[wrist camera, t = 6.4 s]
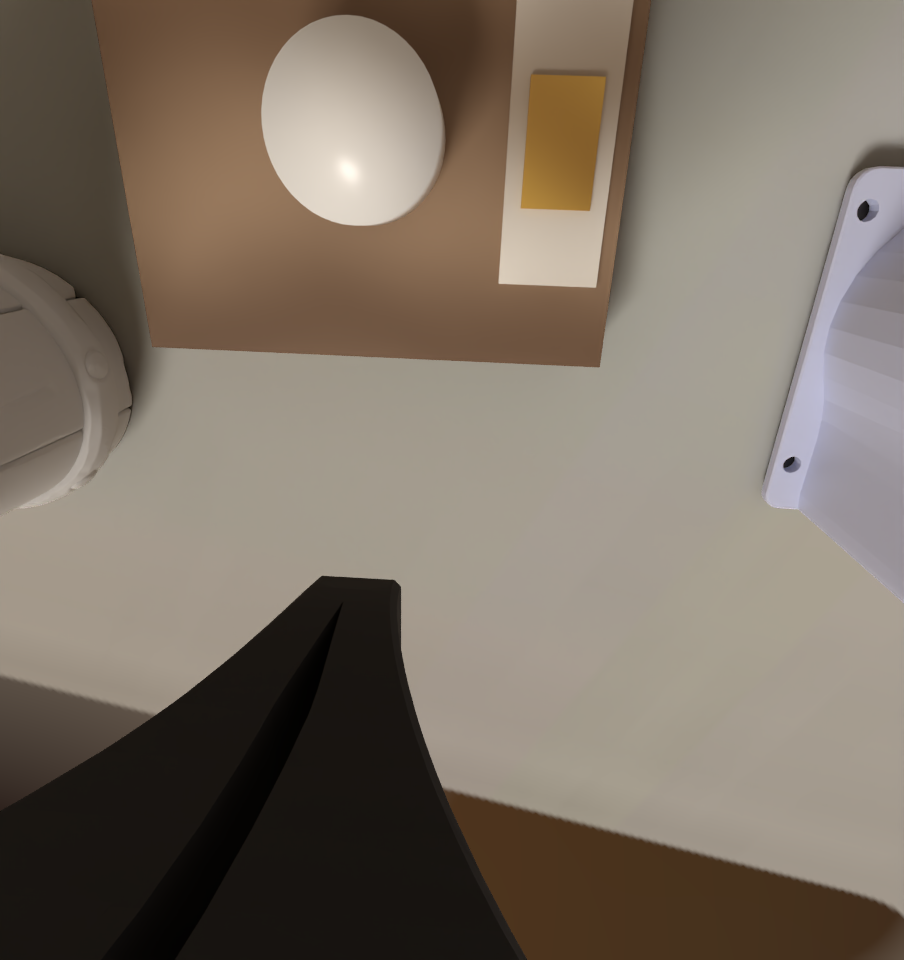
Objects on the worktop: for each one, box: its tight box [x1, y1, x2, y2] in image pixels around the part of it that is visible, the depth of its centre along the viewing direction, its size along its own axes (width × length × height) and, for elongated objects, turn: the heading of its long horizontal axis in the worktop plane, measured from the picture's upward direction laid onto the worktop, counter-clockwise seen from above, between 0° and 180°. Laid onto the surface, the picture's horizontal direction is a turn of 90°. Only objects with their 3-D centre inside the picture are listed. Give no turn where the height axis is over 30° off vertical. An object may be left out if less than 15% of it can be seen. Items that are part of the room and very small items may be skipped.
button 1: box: [261, 15, 446, 226], centre depth 12 cm, size 4×4×2 cm
